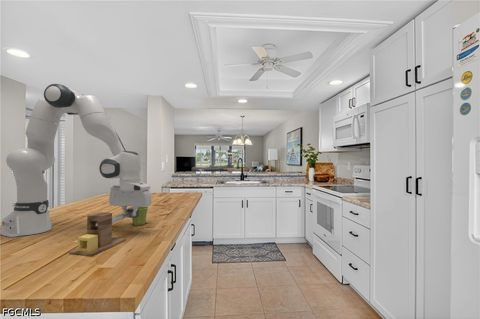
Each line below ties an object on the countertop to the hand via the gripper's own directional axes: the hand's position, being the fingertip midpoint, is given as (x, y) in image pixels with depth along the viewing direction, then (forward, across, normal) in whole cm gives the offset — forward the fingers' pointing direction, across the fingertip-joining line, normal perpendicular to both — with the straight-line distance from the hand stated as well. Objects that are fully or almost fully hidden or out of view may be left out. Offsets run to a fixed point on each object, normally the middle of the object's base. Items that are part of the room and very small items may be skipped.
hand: (129, 215), depth 116 cm
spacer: (+7, 0, -24) cm, 25 cm away
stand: (+8, 0, -18) cm, 20 cm away
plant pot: (+8, -6, +16) cm, 19 cm away
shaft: (+1, 0, -8) cm, 8 cm away
